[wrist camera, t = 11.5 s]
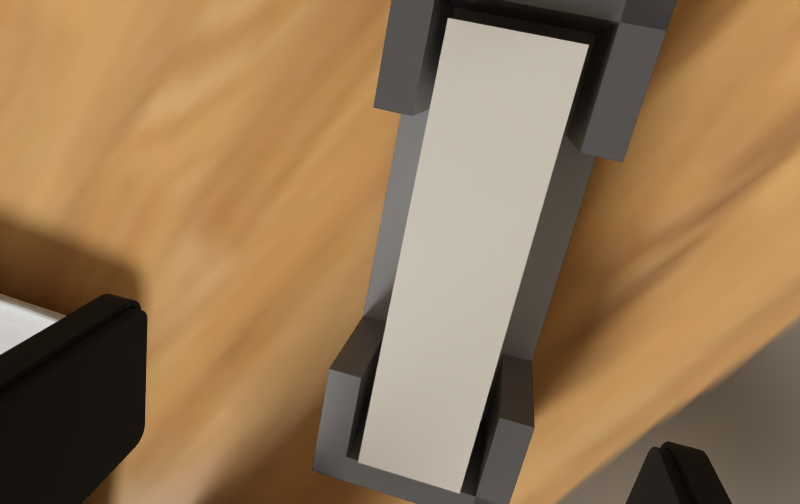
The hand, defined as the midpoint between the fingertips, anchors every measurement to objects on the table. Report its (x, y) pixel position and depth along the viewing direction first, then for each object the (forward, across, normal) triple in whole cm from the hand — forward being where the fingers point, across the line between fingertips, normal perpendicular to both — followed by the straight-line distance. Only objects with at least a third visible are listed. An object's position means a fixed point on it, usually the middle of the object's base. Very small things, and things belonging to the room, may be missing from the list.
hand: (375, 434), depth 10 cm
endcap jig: (+15, -1, +1) cm, 15 cm away
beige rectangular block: (+15, -1, +1) cm, 15 cm away
